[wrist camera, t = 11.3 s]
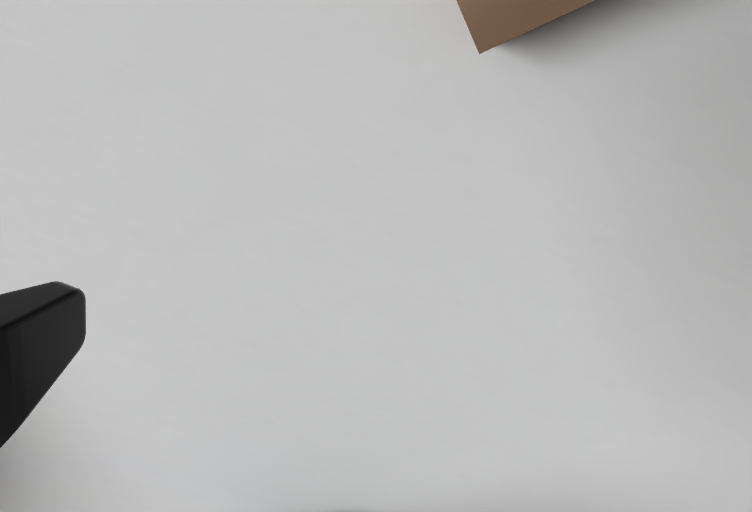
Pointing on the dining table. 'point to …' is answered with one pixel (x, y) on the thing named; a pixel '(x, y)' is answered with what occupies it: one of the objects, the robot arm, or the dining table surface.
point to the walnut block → (510, 18)
